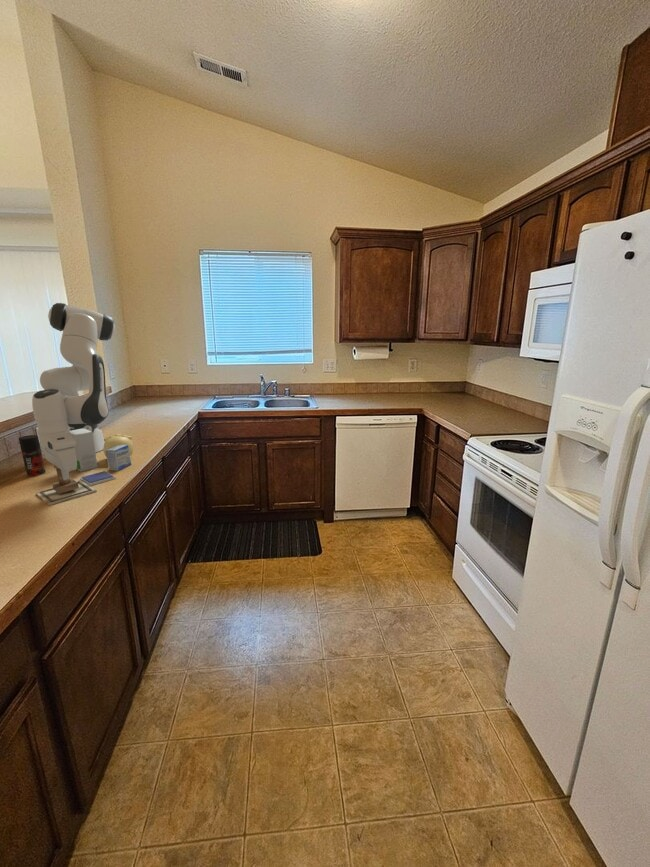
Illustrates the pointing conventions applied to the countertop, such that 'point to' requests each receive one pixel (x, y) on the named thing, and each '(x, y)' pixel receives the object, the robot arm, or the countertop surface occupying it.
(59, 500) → the marked board
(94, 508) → the countertop surface
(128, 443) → the sculpture
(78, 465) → the skincare box
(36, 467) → the deodorant
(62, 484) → the stamp
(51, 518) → the countertop surface
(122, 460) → the medicine box
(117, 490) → the countertop surface
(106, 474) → the ink pad
